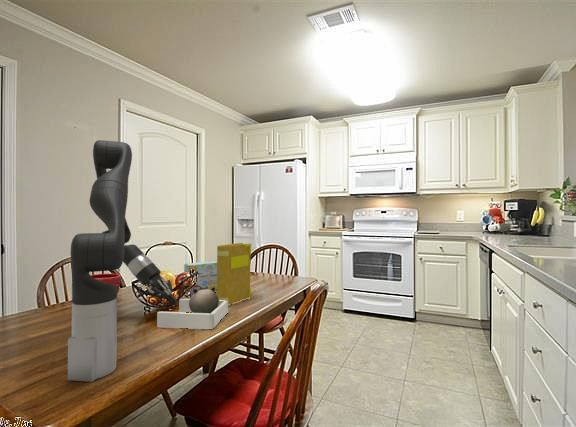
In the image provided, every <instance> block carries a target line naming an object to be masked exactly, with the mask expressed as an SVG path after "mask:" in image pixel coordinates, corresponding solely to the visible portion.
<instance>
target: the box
mask: <svg viewBox="0 0 576 427" xmlns="http://www.w3.org/2000/svg"><path fill="white" fill-rule="evenodd" d="M189 301H190V298H180V299H179V300H178V303H179V304H178V311H158V312H157V313H156V314H157V315H156V327H157V328H160V329H161V328H163V329H164V328H165V329H180V328H188V329H187V330H201V329H213V328H214V327H215V326H216V325H217V324H218V323H219V322H220V320H221V319H222V318H223V317H224V316H225V315H226V314H227V313H228V314H229V307H228V300H219V304H218V307H217V308H216V309H215V310H214V311H213V312H212V313H190V312H192V311H191V310H190V307H189ZM186 312H189V313H186ZM228 314H227V315H228ZM227 315H226V316H227ZM226 316H225V317H226ZM225 317H224V318H225ZM224 318H223V319H224ZM223 319H222V320H223ZM222 320H221V321H222ZM220 323H221V322H220ZM220 323H219V324H220ZM219 324H218V325H219ZM218 325H217V326H218ZM217 326H216V327H217ZM216 327H215V328H216ZM215 328H214V329H215ZM214 329H213V330H214Z"/></svg>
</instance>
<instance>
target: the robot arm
mask: <svg viewBox="0 0 576 427" xmlns="http://www.w3.org/2000/svg"><path fill="white" fill-rule="evenodd" d="M92 148H93V149H92V157H93V158H92V159H93V166H94V170H95V174H96V179H95V181H94V182H93V184H92V186H91V190H90V191H91V192H90V195H89V205H90V208H91V210H92V212H94V214H95V215H96V216H97V217H98V219H100V220H101V221H102V222H103V223H104V225H105V227H107V230H105V231H102V232H94V233H93V232H92V233H91V232H90V233H89V232H87V233H86V232H85V233H83V232H82V233H77V234H75V235H74V236H73V238H72V241H71V244H70V266H71V267H70V269H71V337H69V338H68V339H67V381H75V382H91V383H92V382H94V381H95V380H98V379H101V378H103V377H106V376H108V375H111V373H113V372H114V371H115V370H116V368H117V355H118V354H117V351H118V350H117V347H118V346H117V345H118V343H117V336H118V335H117V334H118V325H117V324H118V321H117V320H118V299H117V298H118V294H117V287H116V286H115V285H113V284H109V283H105V282H101V281H99V280H96V279H95V278H93V277H92V276H91V275H92V274H91V273H93V272H95V273H97V272H110V271H115V270H116V271H117V270H119V269H120V268H121V267H122V265H123V264H124V265H125V266H126V267H127V268H128V269H129V271H130V272H131V274H132V275H133V276H134V277H135V278H136V279H137V280H138V281H139V283H140V284H141V285H142V286H147V288H148V290H147V294H148V295H150V296H153V297H154V298H157V299H158V300H166V301H167V303H168V304H169V305H170V306H171V307H174V306H176V305H177V304H178V303H179V300H177V299H176V297H175V296H174V295H173V292H174V288H173V285H172V282H171V280H170V279H167V280H165V278H164V277H162V276H161V273H162V272H161V270H160V268H159V267H158V266H157V265H156V264H155V263H154V262H153V261H152V260H151V259H150V258H149V257H148V256H147V255H145V253H144V251H142V250H141V249H140V248H139V247H138V246H137V245H136V244H127V243H129V241H130V240H131V237H132V233H131V229H130V227H129V224H128V221H127V218H126V212H127V211H126V210H127V204H128V196H129V177H130V171H131V167H132V166H131V165H132V159H133V153H132V152H133V151H132V148H131V146H130V144H128V143H126V142H125V141H114V140H104V139H103V140H101V139H99V140H96V141H94V144H93V147H92ZM107 169H108V170H107ZM125 244H126V245H125Z"/></svg>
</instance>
